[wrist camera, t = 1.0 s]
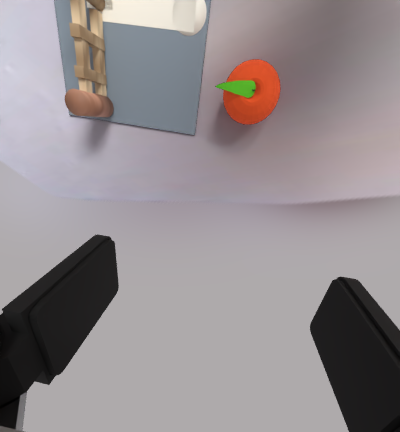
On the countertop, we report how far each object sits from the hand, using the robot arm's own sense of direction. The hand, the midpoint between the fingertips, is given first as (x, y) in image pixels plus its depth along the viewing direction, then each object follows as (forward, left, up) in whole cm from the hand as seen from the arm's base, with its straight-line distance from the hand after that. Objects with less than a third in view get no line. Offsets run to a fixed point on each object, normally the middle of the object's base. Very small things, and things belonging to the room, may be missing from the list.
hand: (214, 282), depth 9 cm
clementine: (-10, +1, -27) cm, 29 cm away
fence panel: (-11, -20, -26) cm, 35 cm away
